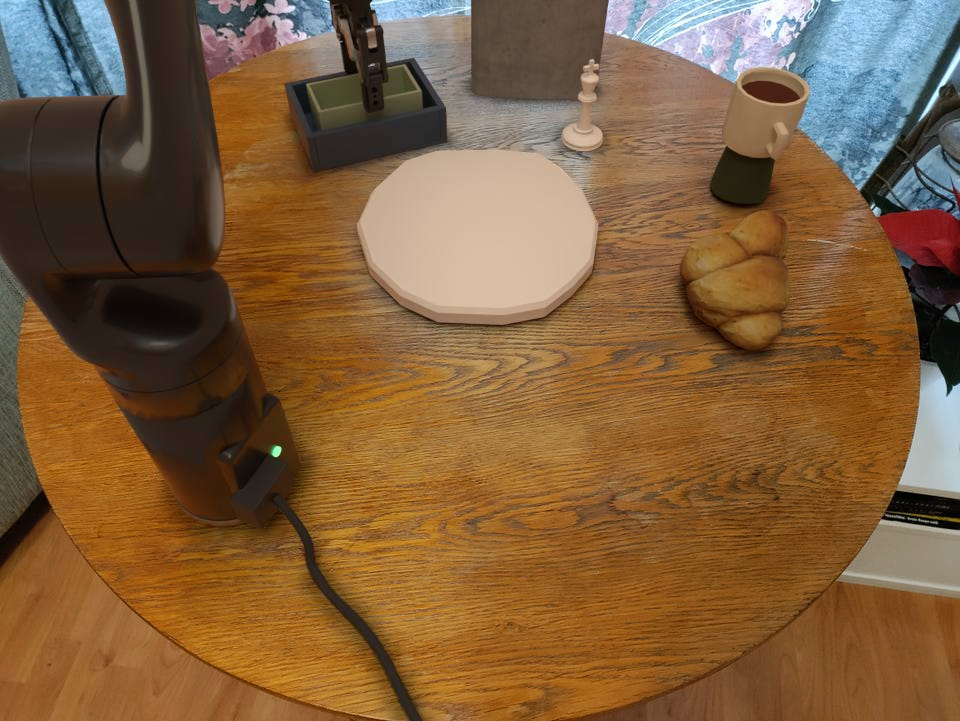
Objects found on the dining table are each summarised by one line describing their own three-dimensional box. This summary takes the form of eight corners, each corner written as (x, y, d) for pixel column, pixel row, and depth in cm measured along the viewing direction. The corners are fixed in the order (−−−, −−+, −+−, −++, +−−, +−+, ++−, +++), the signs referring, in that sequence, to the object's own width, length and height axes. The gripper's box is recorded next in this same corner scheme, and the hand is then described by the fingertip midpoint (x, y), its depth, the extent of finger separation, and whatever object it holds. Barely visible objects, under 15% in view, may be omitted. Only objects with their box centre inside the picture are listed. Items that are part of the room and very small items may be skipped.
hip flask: (595, 84, 98) (618, -84, 83) (597, 101, 96) (621, -68, 80) (471, 81, 98) (471, -87, 83) (470, 99, 96) (469, -71, 80)
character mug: (785, 222, 81) (829, 115, 71) (720, 226, 81) (756, 119, 71) (752, 160, 88) (788, 54, 78) (692, 163, 88) (721, 57, 78)
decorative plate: (364, 133, 84) (589, 133, 84) (368, 164, 87) (585, 164, 88) (340, 298, 68) (616, 297, 69) (346, 328, 72) (609, 328, 72)
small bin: (408, 101, 94) (405, 63, 90) (424, 128, 91) (421, 90, 87) (312, 121, 92) (305, 83, 88) (325, 150, 88) (318, 112, 84)
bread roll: (792, 362, 69) (823, 301, 63) (684, 357, 70) (705, 297, 63) (765, 263, 77) (791, 201, 71) (669, 260, 78) (686, 197, 71)
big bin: (416, 91, 97) (414, 57, 93) (447, 142, 90) (446, 107, 87) (291, 117, 93) (283, 83, 90) (313, 172, 86) (306, 137, 83)
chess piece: (555, 131, 92) (562, 52, 84) (593, 124, 93) (603, 45, 85) (570, 154, 89) (579, 75, 81) (609, 147, 90) (622, 68, 82)
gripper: (291, -82, 78) (317, 66, 91) (325, -23, 70) (348, 131, 82) (362, -92, 80) (377, 54, 92) (403, -36, 72) (414, 116, 84)
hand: (364, 90), depth 87 cm, fingers open, 8 cm apart
